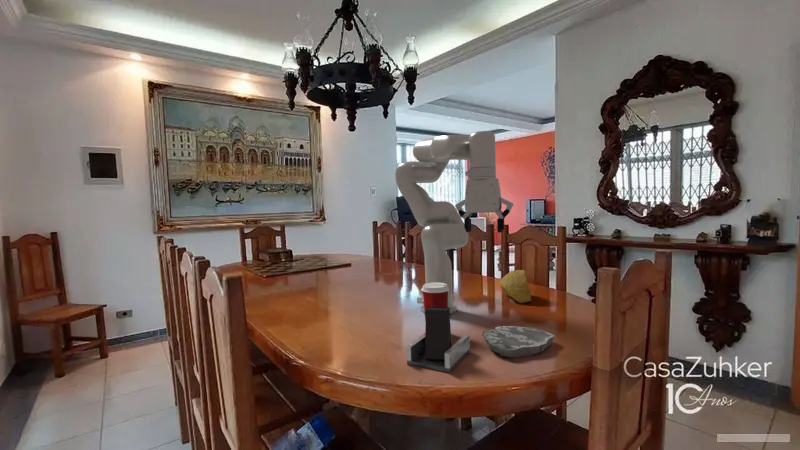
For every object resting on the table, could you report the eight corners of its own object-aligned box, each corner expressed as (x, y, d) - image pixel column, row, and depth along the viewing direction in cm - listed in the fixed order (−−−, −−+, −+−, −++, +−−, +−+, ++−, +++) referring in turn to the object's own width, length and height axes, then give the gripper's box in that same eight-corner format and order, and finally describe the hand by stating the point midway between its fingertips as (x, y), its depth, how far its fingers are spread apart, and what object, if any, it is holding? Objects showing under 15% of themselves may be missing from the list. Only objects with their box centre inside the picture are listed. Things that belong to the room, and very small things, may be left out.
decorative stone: (486, 294, 155) (510, 269, 147) (499, 282, 167) (521, 257, 160) (512, 318, 151) (538, 293, 144) (523, 304, 163) (547, 280, 156)
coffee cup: (452, 330, 122) (451, 282, 121) (447, 339, 114) (445, 288, 113) (426, 328, 124) (425, 281, 123) (419, 337, 117) (417, 287, 116)
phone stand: (449, 361, 96) (447, 313, 96) (424, 360, 98) (423, 312, 97) (451, 347, 105) (450, 303, 104) (429, 346, 106) (428, 302, 106)
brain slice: (513, 330, 120) (513, 321, 120) (564, 347, 106) (564, 336, 106) (466, 346, 109) (466, 335, 109) (515, 366, 95) (515, 354, 95)
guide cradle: (407, 364, 98) (406, 346, 98) (430, 345, 110) (430, 329, 110) (449, 372, 92) (449, 354, 92) (469, 351, 105) (469, 334, 104)
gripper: (450, 175, 117) (452, 232, 119) (509, 171, 109) (510, 233, 110) (459, 176, 124) (461, 230, 125) (515, 172, 116) (516, 231, 117)
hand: (484, 231), depth 118 cm, fingers open, 9 cm apart
